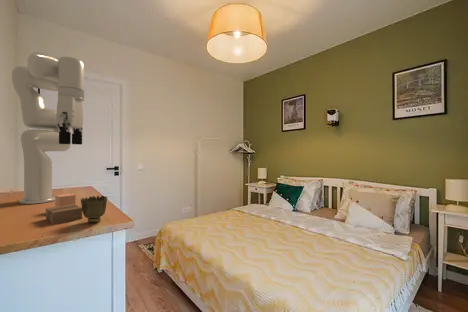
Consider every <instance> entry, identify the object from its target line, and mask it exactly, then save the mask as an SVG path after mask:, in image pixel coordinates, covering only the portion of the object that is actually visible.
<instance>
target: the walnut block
mask: <svg viewBox="0 0 468 312" xmlns="http://www.w3.org/2000/svg"><path fill="white" fill-rule="evenodd" d="M82 219H83V212H82V206H78V205H76V204H75V205H74V204H72V205H65V206H58V207H55V206H53V207H47V208H45V220H47V221H48V222H49V223H50V224H52V225H57V224H58V225H59V224H64V223H68V222H73V221H78V220H82Z"/></svg>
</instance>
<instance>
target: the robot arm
mask: <svg viewBox="0 0 468 312" xmlns="http://www.w3.org/2000/svg"><path fill="white" fill-rule="evenodd" d="M11 79H12V80H11V82H12V85H13V87H14V88H13V89H14V90H15V92H16V94H17V96H18V98H19V101H20V108H21V116H22V117H21V118H22V122H23V124H24V126H25V127H27V128H29V129H26V130H25V131H23V132H22V133H21V135H20V144H21V148H22V153H23V155H22V156H23V198H21V199H19V201H18V202H19V204H21V205H31V204H32V205H33V204H36V205H37V204H44V203H49V202H53V201H55V195H53V162H52V159H51V158H50V156H49V155H48V154H47V152H65V151H68V150H69V149H70V148H71V144H72V145H83V126H84V113H83V111H84V110H83V102H84V101H85V64H84V62H83V61H82V60H80V59H78V58H76V57H72V56H61V57H59V56H56V55H50V54H48V53H45V52H33V53H30V54H29V56H28V57H27V66H24V65H23V66H15V67H14V68H13V69H12V72H11ZM34 88H35V89H34ZM36 89H40V90H47V91H52V92H57V104H56V109H52V108H51V109H49V108H47V107H46V101H45V99H44V97H43V96H42V95H41V94H40V93H39V92H38V91H37V90H36ZM70 130H71V131H72V132H71V131H70Z"/></svg>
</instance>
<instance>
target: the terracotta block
mask: <svg viewBox="0 0 468 312" xmlns="http://www.w3.org/2000/svg"><path fill="white" fill-rule="evenodd" d="M54 196H55V200H54V201H55V203H54V204H55V205H54V207H58V206H65V205H72V204H74V205H76V194H73V193H62V194H55V195H54Z"/></svg>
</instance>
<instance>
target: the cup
mask: <svg viewBox="0 0 468 312" xmlns="http://www.w3.org/2000/svg"><path fill="white" fill-rule="evenodd" d="M107 201H108V196H104V195H101V196H99V195H96V196H95V195H93V196H91V195H90V196H89V197H87V196H86V197H82V198H80V204H81V206H80V207H81V208H82V216H84V217H85V218H87V222H88V223H89V224H98V223H99V222H101V220H102V217H103V216H104V214H105V213H106V210H107Z"/></svg>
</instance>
